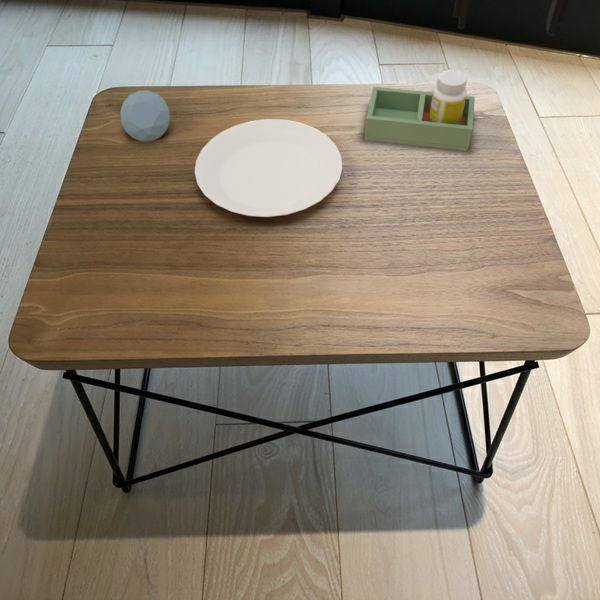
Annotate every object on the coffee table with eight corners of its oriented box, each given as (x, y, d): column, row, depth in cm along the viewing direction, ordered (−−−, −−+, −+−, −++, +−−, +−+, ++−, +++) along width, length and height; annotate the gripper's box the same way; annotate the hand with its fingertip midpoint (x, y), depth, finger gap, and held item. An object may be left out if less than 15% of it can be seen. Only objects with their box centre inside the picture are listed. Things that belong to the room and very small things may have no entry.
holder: (371, 108, 98) (373, 86, 95) (469, 118, 96) (474, 96, 92) (364, 140, 93) (365, 118, 90) (467, 151, 91) (472, 129, 88)
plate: (352, 139, 93) (353, 127, 91) (326, 238, 81) (326, 226, 79) (222, 123, 96) (220, 111, 95) (177, 216, 84) (174, 204, 82)
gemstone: (130, 91, 97) (120, 85, 92) (178, 98, 97) (171, 93, 92) (125, 140, 98) (115, 137, 93) (172, 147, 98) (165, 144, 93)
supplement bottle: (464, 123, 93) (475, 74, 87) (450, 140, 91) (461, 90, 84) (436, 113, 95) (444, 64, 88) (421, 129, 93) (429, 80, 86)
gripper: (645, -168, 56) (583, 15, 70) (453, -173, 59) (430, 4, 73) (656, -141, 52) (588, 50, 65) (448, -147, 55) (424, 37, 68)
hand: (505, 26), depth 69 cm, fingers open, 9 cm apart
